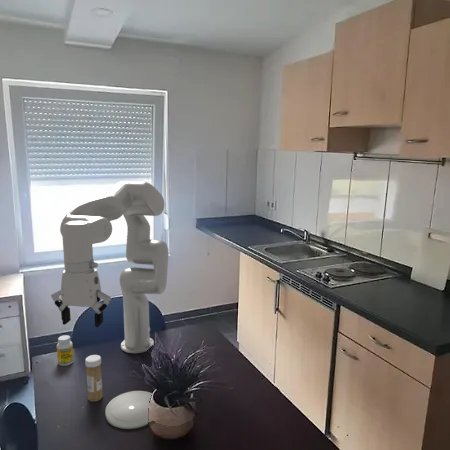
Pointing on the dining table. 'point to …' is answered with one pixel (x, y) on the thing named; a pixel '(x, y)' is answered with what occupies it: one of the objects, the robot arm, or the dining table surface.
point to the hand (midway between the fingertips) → (82, 323)
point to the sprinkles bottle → (94, 377)
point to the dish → (129, 410)
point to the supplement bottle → (65, 350)
